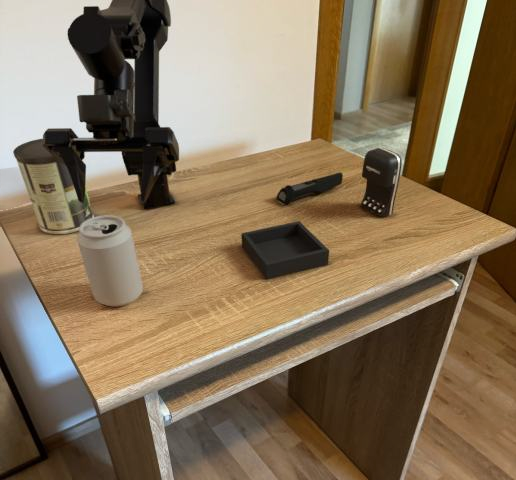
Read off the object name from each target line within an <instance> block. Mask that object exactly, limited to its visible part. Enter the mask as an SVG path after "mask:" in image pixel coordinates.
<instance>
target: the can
mask: <svg viewBox="0 0 516 480" xmlns="http://www.w3.org/2000/svg"><path fill="white" fill-rule="evenodd" d="M78 232H79V234H78V235H77V236H76V242H77V246H78V249H79V252H80V255H81V259H82V262H83V265H84V269H85V272H86V276H87V280H88V282H89V283H88V284H89V286H90V289H91V293H92V296H93V298H94V299H95V302H98V303H100V304H102V305H105V306H107V307H113V308H114V307H115V308H117V307H123V306H127V305H130V304H131V303H133V302H134V301H136V300H137V299H138V297H140V295H141V294H142V293H143V290H144V286H143V285H144V284H143V282H142V281H143V280H142V275H141V271H140V266H139V261H138V256H137V251H136V247H135V242H134V237H133V233H132V229H131V228H130V227H129V226H128V225H127V224H126V221H125V220H124V219H123V218H122V217H120V216H118V215H112V214H106V215H105V214H103V215H97V216H94V217H93V218H90V219H88V220H86V221H85V222H83V223H82V224H81V225H80V227H79V231H78Z"/></svg>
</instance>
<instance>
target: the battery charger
mask: <svg viewBox="0 0 516 480" xmlns="http://www.w3.org/2000/svg"><path fill="white" fill-rule="evenodd" d="M402 162H403V161H402V157H401V156H400V154H398V153H396V152H395V151H392V150H390V149H387V148H385V147H376V148H374V149H370V150H368V151H367V152H366V153H365V155H364V160H363V164H362V170H361V177H362V178H364V179H365V180H366V184H365V191H364V195H363V198H362V200H361V203H360V206H361V207H362V208H363V209H364V210H366V211H368V212H370V214H371V213H372V214H373V215H375V216H377V217H387V216H391V215H392V214H393V213H394V208H395V202H396V197H397V192H398V187H399V184H400V183H399V182H400V179H401V178H400V176H401V171H402V164H403V163H402Z"/></svg>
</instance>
